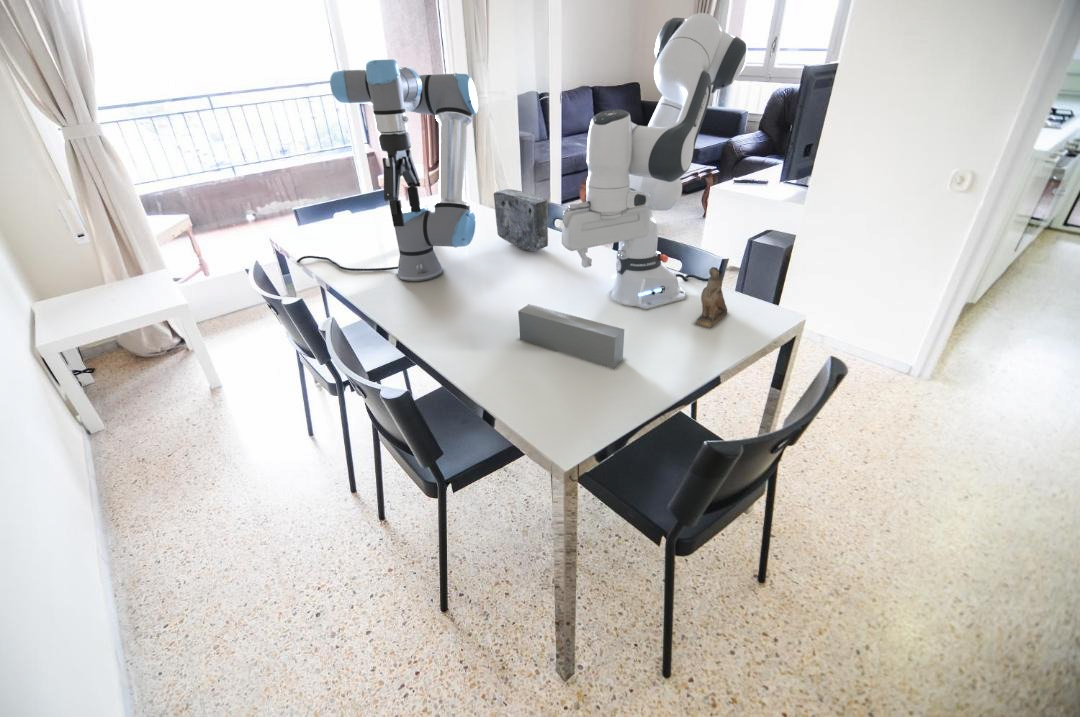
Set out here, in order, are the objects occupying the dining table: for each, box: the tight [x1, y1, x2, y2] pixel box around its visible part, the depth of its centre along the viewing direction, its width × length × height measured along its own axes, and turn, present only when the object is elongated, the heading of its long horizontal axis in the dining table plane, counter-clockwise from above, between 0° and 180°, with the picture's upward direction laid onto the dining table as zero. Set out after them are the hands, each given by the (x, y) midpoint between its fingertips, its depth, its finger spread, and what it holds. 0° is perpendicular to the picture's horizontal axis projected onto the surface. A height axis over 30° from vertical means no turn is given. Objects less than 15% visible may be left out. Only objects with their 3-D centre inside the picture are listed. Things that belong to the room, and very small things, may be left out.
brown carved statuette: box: [695, 266, 728, 328], centre depth 135 cm, size 12×6×18 cm, turn 136°
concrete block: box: [493, 188, 549, 252], centre depth 191 cm, size 27×9×20 cm, turn 36°
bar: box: [517, 303, 625, 370], centre depth 126 cm, size 28×5×9 cm, turn 56°
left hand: (408, 218), depth 133 cm, fingers open, 13 cm apart
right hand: (605, 262), depth 110 cm, fingers open, 8 cm apart
